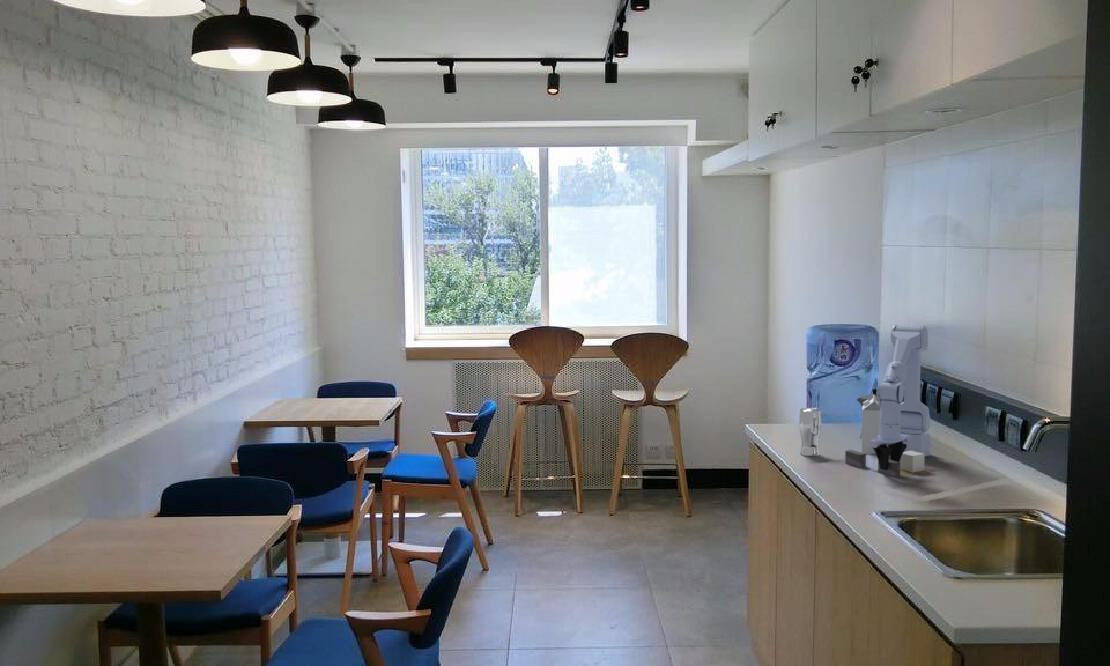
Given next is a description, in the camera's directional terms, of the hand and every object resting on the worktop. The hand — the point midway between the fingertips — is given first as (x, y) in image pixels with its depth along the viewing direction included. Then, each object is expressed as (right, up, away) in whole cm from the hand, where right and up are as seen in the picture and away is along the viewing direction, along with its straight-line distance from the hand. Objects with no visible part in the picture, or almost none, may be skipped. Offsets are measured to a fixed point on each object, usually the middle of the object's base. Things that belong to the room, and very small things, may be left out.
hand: (889, 468), depth 264 cm
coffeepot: (+14, +2, +51) cm, 53 cm away
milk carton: (+6, 0, +31) cm, 31 cm away
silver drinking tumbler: (-15, 0, +31) cm, 34 cm away
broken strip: (+1, -1, +15) cm, 15 cm away
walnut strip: (+7, -3, +4) cm, 8 cm away
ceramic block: (+8, -1, +5) cm, 10 cm away
